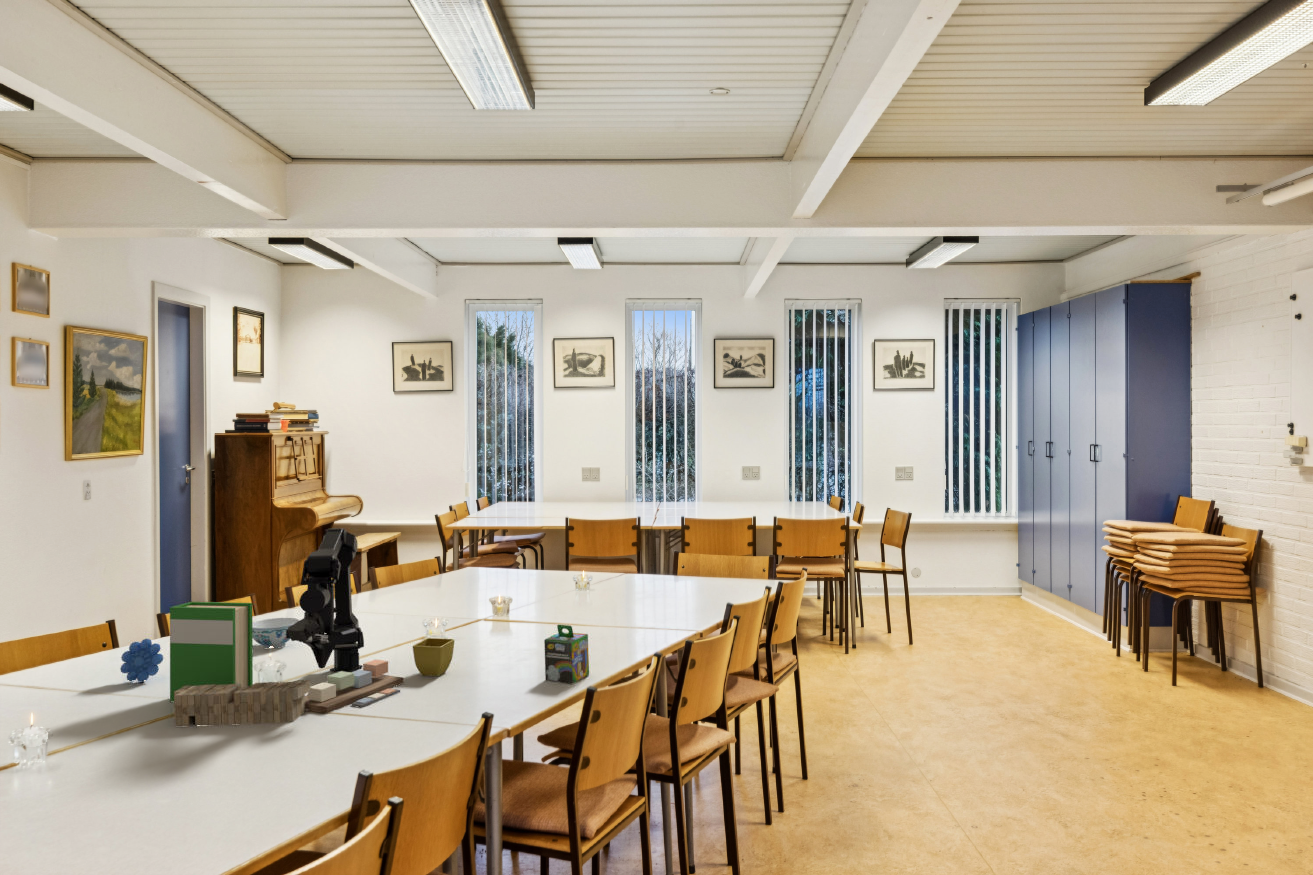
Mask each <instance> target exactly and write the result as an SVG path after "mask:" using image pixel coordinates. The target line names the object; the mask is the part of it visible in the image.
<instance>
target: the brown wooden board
mask: <svg viewBox="0 0 1313 875" xmlns="http://www.w3.org/2000/svg"><path fill="white" fill-rule="evenodd" d="M401 683H402V684H404V677H401V676H397V675H395V676H394V675H388V674H382V675H379V676H377V677H374V676H372V683H371V684H368V685H365V686H363V687H360V688H356V687H347V688H344V689H342V690H339V689H336V697H333V698H331V699H328V700H325V701H323V702H319V701H313V700H308V694H307V695H305V711H312V712H317V713H323V714H328V713H331V712H334V710H335V711H336V710H339V709H342V708H344V706H345V707H347V706H349V705H352V703H354V702H356V701H358V700H360V699H363V698H366V697H368V696H371V695H373V694H376V693H379V692H381V691H383V690H386V689H389V688H391V689H393V688H395V687H397V686H399V684H400V685H402V684H401ZM396 685H397V686H396ZM394 686H395V687H394Z"/></svg>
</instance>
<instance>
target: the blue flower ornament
mask: <svg viewBox="0 0 1313 875" xmlns="http://www.w3.org/2000/svg"><path fill="white" fill-rule="evenodd" d="M160 651H161V645H160V643H152V640H151V639H150V638H144V639H142V640H141V641H132V643H130V645H129V647H128V650H126V651H124V652H123V653H122V654H121V661H122V662H123V663H122V664H121V666H120V672H121V673H122V674H126V680H127V681H128V680H129V681H128V682H133V681H132V680H135V681H136V680H137V682H139V681H144V680H146V681H148V679H149V677H150V676H151V677H153V676H155V675H157V673H158V672H159V670H160V668H159V666H158V665H160V664H161V663H163V661H164V655H163V654H162V653H159V652H160Z"/></svg>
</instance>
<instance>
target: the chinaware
mask: <svg viewBox="0 0 1313 875" xmlns="http://www.w3.org/2000/svg"><path fill="white" fill-rule="evenodd" d="M299 620H300V619H298V618H295V617H276V618H275V617H274V618H273V617H272V618H266V619H260V620H256V621H252V636H253V641H255V642H256V643H257V644H259V645H260V646H261V647H264V648H269V647H270V646H273V647H274V648H275V649H279V648H278V647H281V648H283V647H282V646H284V647H285V646H286V643H288V642H289V641H291V639H289V638H286V630H287V629H288V627H289V626H292V625H293V624H295V623H296V622H298V621H299ZM264 648H263V649H264Z"/></svg>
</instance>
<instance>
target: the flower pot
mask: <svg viewBox="0 0 1313 875" xmlns="http://www.w3.org/2000/svg"><path fill="white" fill-rule="evenodd" d="M454 648H455V639H454V638H440V637H439V638H437V637H436V638H435V637H427V638H424V639H423V640H420V641H419V642H417V643H415V644H413V645H412V652H413V659H414V664H415V668H417V670H418V672H419V673H420V675H421V676H428V677H440V676H441V675H443V674H444V673H446V672H447V670H448V669H449V667H450V664H451V662H452V660H453V655H454Z"/></svg>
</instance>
